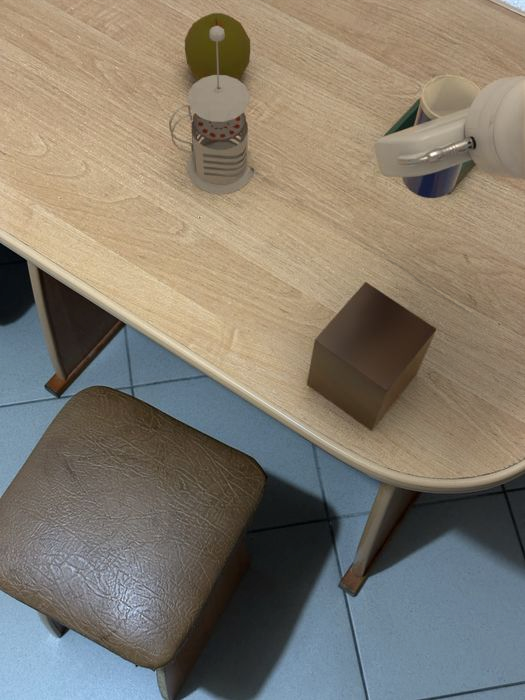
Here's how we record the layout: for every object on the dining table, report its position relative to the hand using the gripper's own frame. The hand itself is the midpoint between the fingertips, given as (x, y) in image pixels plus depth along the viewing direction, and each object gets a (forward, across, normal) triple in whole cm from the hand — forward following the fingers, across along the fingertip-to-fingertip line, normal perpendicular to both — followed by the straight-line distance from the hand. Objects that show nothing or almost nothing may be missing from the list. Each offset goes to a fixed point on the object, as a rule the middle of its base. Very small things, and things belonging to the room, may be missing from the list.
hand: (439, 127), depth 87 cm
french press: (+39, -15, -2) cm, 42 cm away
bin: (+32, +16, -8) cm, 37 cm away
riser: (+12, -11, -29) cm, 33 cm away
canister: (+5, 0, -6) cm, 7 cm away
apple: (+51, -8, +10) cm, 52 cm away
